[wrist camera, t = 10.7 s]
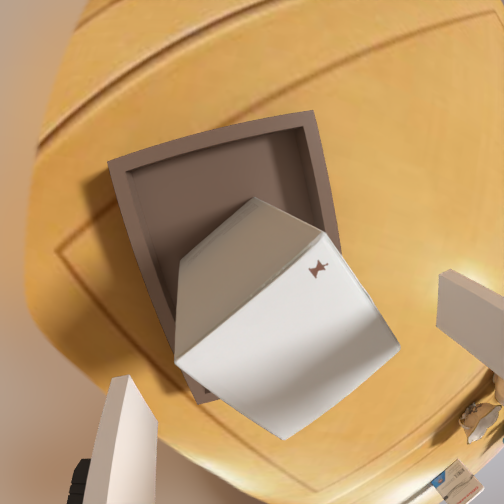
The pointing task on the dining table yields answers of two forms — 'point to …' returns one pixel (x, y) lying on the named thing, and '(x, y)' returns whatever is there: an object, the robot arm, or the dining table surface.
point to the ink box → (457, 484)
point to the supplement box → (276, 320)
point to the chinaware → (483, 413)
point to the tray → (216, 196)
